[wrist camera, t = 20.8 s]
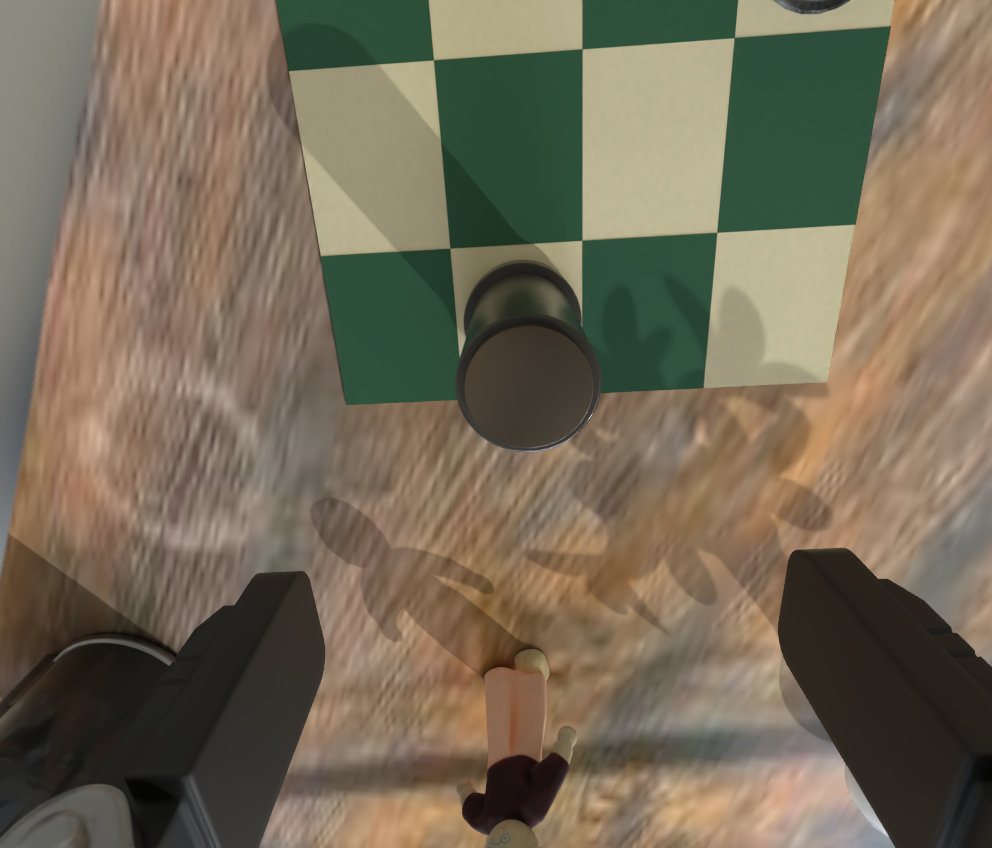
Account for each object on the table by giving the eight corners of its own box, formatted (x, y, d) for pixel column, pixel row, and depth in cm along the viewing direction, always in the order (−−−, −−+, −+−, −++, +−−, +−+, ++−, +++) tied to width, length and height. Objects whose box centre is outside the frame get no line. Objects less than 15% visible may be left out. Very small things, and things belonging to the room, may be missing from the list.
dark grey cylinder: (469, 374, 28) (449, 471, 18) (461, 262, 26) (432, 306, 16) (578, 369, 28) (614, 464, 18) (578, 256, 26) (619, 297, 16)
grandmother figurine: (530, 626, 34) (541, 854, 23) (575, 659, 35) (607, 893, 23) (449, 693, 37) (420, 931, 25) (493, 722, 37) (485, 964, 26)
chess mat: (347, 404, 29) (346, 405, 29) (249, -164, 20) (247, -167, 20) (825, 381, 28) (827, 382, 28) (933, -228, 19) (936, -231, 19)
